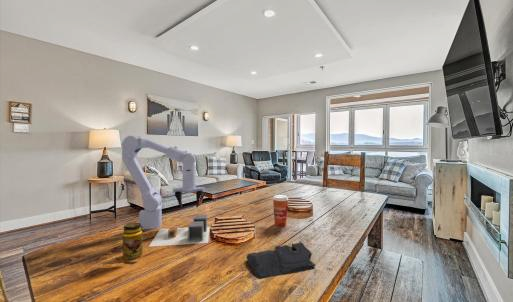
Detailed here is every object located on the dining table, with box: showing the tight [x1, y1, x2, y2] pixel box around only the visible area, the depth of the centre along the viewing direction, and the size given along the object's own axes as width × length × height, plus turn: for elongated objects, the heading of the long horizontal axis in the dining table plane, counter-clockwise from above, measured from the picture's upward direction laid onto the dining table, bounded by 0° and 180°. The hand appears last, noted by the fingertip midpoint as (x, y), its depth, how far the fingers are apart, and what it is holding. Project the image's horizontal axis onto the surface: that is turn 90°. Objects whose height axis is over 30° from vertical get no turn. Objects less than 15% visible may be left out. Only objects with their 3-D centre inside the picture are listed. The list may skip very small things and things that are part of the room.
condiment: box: [122, 221, 144, 265], centre depth 82 cm, size 7×8×12 cm
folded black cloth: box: [246, 241, 316, 280], centre depth 79 cm, size 15×22×5 cm
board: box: [148, 225, 211, 248], centre depth 99 cm, size 22×18×1 cm
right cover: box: [193, 213, 208, 232], centre depth 105 cm, size 6×6×6 cm
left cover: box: [187, 221, 204, 241], centre depth 96 cm, size 6×6×6 cm
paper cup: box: [272, 194, 289, 228], centre depth 115 cm, size 8×8×14 cm
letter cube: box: [168, 227, 178, 238], centre depth 98 cm, size 3×3×3 cm
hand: (188, 207), depth 112 cm, fingers open, 7 cm apart
